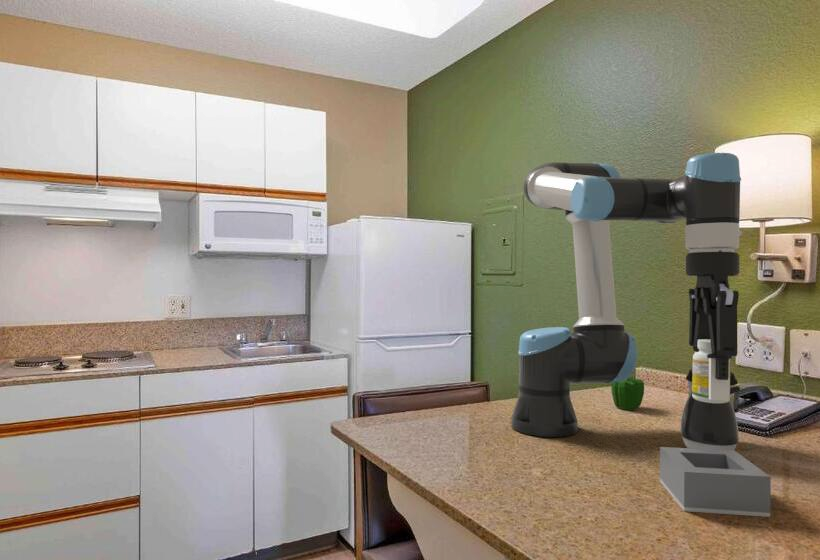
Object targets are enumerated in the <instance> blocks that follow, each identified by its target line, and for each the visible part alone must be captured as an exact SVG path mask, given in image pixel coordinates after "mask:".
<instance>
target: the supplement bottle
mask: <svg viewBox="0 0 820 560" xmlns="http://www.w3.org/2000/svg"><path fill="white" fill-rule="evenodd" d="M697 347H698V349H699V352H696V351H695V352H696V353H695V352H694V354H693V355H692V397H693V398H694V399H695V400H698V401H702V402H707V403H726V402H729V401H725V400H710V399H709V358H708V357H707V355H708V354H712V350H711V341H710V339H700V340H698V343H697ZM730 365H731V359H730ZM729 400H730V398H729Z"/></svg>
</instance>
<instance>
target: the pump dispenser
mask: <svg viewBox="0 0 820 560" xmlns="http://www.w3.org/2000/svg"><path fill="white" fill-rule="evenodd" d="M741 391H742V390H741V387H740V386H739V385H735V387H730V394H733V393H734V394H736V393H738V392H741ZM680 422H681V423H680V431H679V432H680V435H681V438H682V441H683V443H684V445H685V448H693V449H713V450H733V451H736V450H735V449H736V447H737V445H738V443H739V441H740V437H739V436H740V435H739V427H738V426H739V425H738V420H737V416H736V412H735V410H734V405H733V406H732V403H731V401H730V400H729V402H726V403H707V402H702V401H698V400H695V399H694V398H693V397H692V391H691V393H690V395H689V394H688V397H687V399H686V402H685V404H684V407H683V411H682V416H681V421H680Z"/></svg>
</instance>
